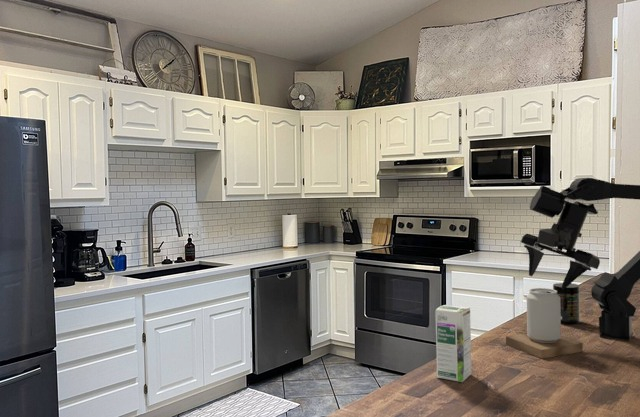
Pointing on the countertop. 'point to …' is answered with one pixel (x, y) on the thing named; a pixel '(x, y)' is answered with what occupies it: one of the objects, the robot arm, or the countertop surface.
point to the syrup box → (453, 342)
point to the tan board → (544, 346)
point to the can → (543, 315)
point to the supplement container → (568, 303)
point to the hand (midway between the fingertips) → (546, 281)
